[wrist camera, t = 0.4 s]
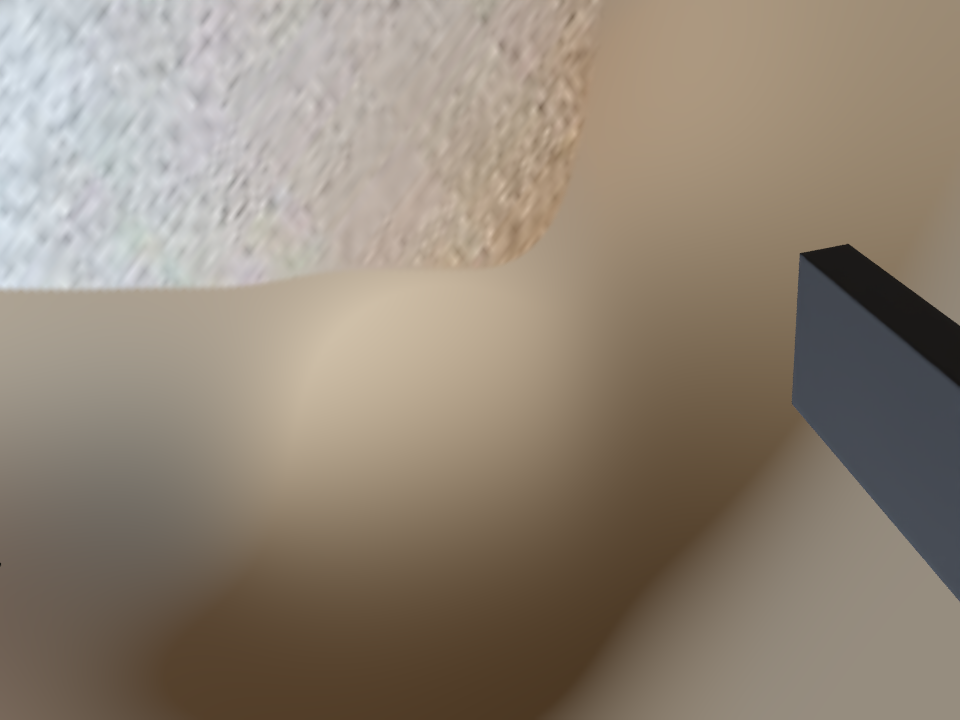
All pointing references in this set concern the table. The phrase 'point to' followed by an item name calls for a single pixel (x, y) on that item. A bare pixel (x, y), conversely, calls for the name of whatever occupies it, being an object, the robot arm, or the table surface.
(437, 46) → the table surface
